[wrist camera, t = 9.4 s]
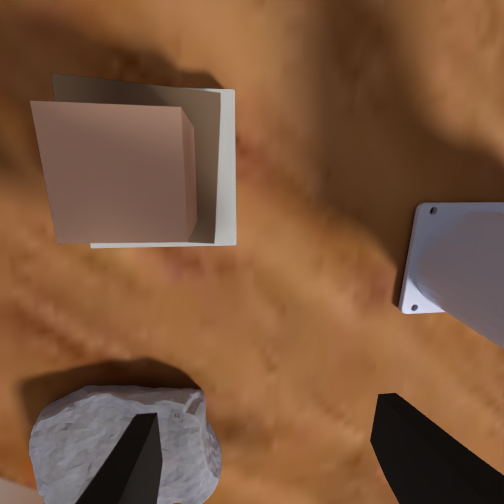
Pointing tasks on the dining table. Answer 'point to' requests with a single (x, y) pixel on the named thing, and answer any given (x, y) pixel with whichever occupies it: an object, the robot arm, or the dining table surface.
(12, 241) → the dining table surface
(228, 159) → the grey base block
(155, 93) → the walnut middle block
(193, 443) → the stone block
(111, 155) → the terracotta cube
